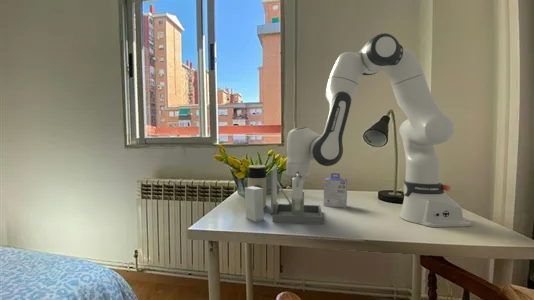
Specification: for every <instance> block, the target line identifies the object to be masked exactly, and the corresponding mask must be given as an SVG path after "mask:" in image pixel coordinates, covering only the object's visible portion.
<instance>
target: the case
mask: <svg viewBox="0 0 534 300" xmlns="http://www.w3.org/2000/svg"><path fill="white" fill-rule="evenodd" d="M278 188H279V189H280V191H281V192H282V194H283V195H284V197H285V198H286V200H287V202H288V204H287V203H279V202H278ZM270 216H272V223H285V224H286V223H288V224H289V223H290V224H309V225H324V224H323V221H324V217H323V212H322V208H321V205H319V204H318V205H317V204H304V216H303V215H292V201H291V200H290V199H289V197H288V195H287V194H286V192H285V190H284V189H283V188H282V185H280V183H279V181H278V165H277V164H276V165H274V167H272V169H271V170H270Z"/></svg>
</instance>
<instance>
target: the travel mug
mask: <svg viewBox="0 0 534 300" xmlns="http://www.w3.org/2000/svg"><path fill="white" fill-rule="evenodd" d="M248 168H249V169H248V172H247V187H251V186H254V187H259V188H263V208H266V207H267V172H266V165H263V164H253V165H252V164H251V165H248Z"/></svg>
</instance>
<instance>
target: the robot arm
mask: <svg viewBox="0 0 534 300" xmlns="http://www.w3.org/2000/svg"><path fill="white" fill-rule="evenodd" d="M380 71H383V72H384V73H385V74H386V75H387V77H388V79H389V82H390V84H391V88H392V91H393V94H394V97H395V100H396V103H397V105H398V108H400V109H401V110H402V111H403V114H405V116H406V117H407V119H406V120H404V121H403V122H402V123H401V124H400V126H399V128H398V129H399V131H398V132H399V135H400V137H401V139H402V144H403V149H404V154H405V155H404V156H405V180H404V181H403V195H404V197H403V201H402V206H401V211H400V213H399V218H401V219H402V220H405V221H407V222H411V223H415V224H420V225H423V226H427V227H431V228H443V227H444V228H445V227H448V228H449V227H471V221H470V220H468V219H467V218H465V217H464V214H463V210H462V206H461V205H460V204H459V203H457V201H455V200H454V199H452V198H451V197H449V195H448V194H446V193H445V191H446V192H449V191H450V190H452V188H451V186H450V185H447V184H443V183H441V182H440V173H441V161H440V159H439V157H438V156H437V153H436V150H435V146H437V145H441V144H444V143H446V142H448V141H449V140H450V139H452V137H453V136H454V133H455V126H454V122H453V121H452V119H450V118H449V117H448V116H447V115H446V114H444V112H443V111H442V110H441V108H440V106H439V105H438V104H437V102H436V101H435V99H434V97H433V96H432V93H431V90H430V88H429V85H428V82H427V79H426V77H425V73H424V70H423V68H422V66H421V63H420V61H419V59H418V57H417V56H416V54H415V52H414V51H412V49H411V50H410V49H404V48H403V46H402V45H401V44H400V43H399V40H398V38H396V37H395V36H393V35H392V34H390V33H387V32H386V33H380V34H377V35H375V36H373V37H372V38H371V39H370V40H369V41H367V42H366V43H365V45H363V46H362V48H361V49H360V50H359V51H358V52H353V51H346V52H343V53H340V54H339V55H338V57H337V59H336V60H335V63H334V65H333V66H332V68H331V71H330V73H329V77H328V80H327V83H326V87H325V99H326V101H327V102H328V105H329V113H328V116H327V120H326V123H325V126H324V130H323V133H322V134H320V133H317V132H315V131H313V130H312V129H310V128H309V127H307V126H303V127H296V128H292V129H291V130H289V132H288V133H287V139H286V154H287V157H286V165H285V166H286V169H285V170H286V173H285V174H286V175H287V176H289V179H290V180H292V181H291V182H292V183H291V200H292V199H293V200H294V202H295V210H300V200H302V198H303V192H304V188H303V187H304V182H305V181H306V180H307V177H309V176H311V175H310V174H311V161H313V160H314V161H316V162H317V163H318V165H320V166H324V167H331V166H335V165H336V164H337V163H338V162H340V160H341V159H342V157H343V154H344V146H343V145H344V144H343V135H344V131H345V128H346V123H347V120H348V118H349V113H350V108H351V106H352V103H353V100H354V98H355V96H356V93H357V90H358V87H359V84H360V81H361V78H362V76H372V75H375V74H377V73H378V72H380Z"/></svg>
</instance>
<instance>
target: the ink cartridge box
mask: <svg viewBox="0 0 534 300" xmlns="http://www.w3.org/2000/svg"><path fill="white" fill-rule="evenodd" d="M340 175H341V173H336V172H335V173H334V172H332V173H331V175H330V177H326V178H325V177H324V179H323V207H334V208H335V207H336V208H345V209H347V201H348V200H347V197H348V181H347V178H341V176H340Z"/></svg>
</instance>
